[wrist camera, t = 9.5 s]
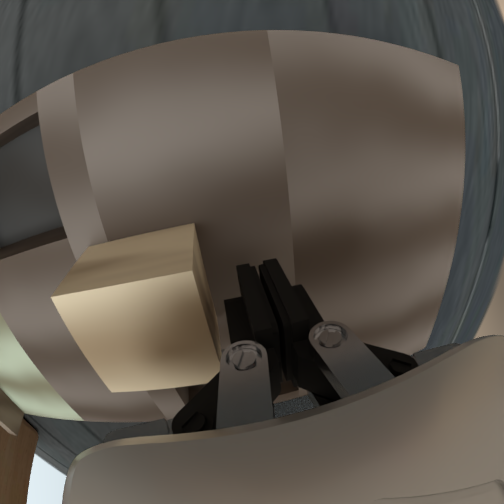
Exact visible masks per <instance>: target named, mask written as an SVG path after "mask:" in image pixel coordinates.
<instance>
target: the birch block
mask: <svg viewBox="0 0 504 504" xmlns="http://www.w3.org/2000/svg"><path fill="white" fill-rule="evenodd" d="M51 299H52V301H53V303H54V305H55V306H56V308H57V310H58V312H59V314H60V316H61V318H62V319H63V321H64V323H65V325H66V326H67V328H68V330H69V331H70V333H71V335H72V336H73V338H74V340H75V341H76V343H77V344H78V346H79V348H80V349H81V351H82V352H83V354H84V355H85V357H86V358H87V360H88V361H89V363H90V364H91V365H92V367H93V368H94V370H95V371H96V373H97V374H98V375H99V377H100V378H101V379H102V381H103V382H104V383H105V385H106V386H107V387H108V389H109V390H110V391H111V392H131V391H146V390H158V389H168V388H177V387H185V386H192V385H199V384H206V383H208V382H209V381H210V380H211V379H212V378H213V377H214V376H215V375H216V374H217V373H218V372H219V371H220V360H221V355H222V352H221V345H220V337H219V330H218V322H217V316H216V312H215V308H214V304H213V300H212V297H211V293H210V289H209V285H208V281H207V276H206V272H205V268H204V264H203V260H202V255H201V251H200V247H199V242H198V238H197V233H196V229H195V224H194V223H192V224H187V225H182V226H177V227H173V228H168V229H163V230H159V231H154V232H149V233H145V234H140V235H136V236H132V237H127V238H123V239H119V240H114V241H110V242H106V243H102V244H98V245H94V246H90V247H88V248H87V249H86V250H85V252H84V253H83V254H82V255H81V257H80V258H79V259H78V260H77V262H76V263H75V264H74V266H73V267H72V268H71V270H70V271H69V272H68V274H67V275H66V276H65V278H64V279H63V280H62V282H61V283H60V285H59V286H58V287H57V289H56V290H55V292H54V293H53V295H52V296H51Z"/></svg>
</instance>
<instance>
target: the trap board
mask: <svg viewBox="0 0 504 504" xmlns="http://www.w3.org/2000/svg"><path fill="white" fill-rule="evenodd" d="M464 172H465V120H464V105H463V95H462V86H461V79H460V72H459V66H458V65H456V64H453V63H451V62H448V61H446V60H443V59H440V58H438V57H435V56H432V55H429V54H426V53H423V52H420V51H416V50H413V49H410V48H406V47H402V46H399V45H395V44H391V43H386V42H382V41H377V40H372V39H367V38H362V37H356V36H349V35H342V34H334V33H325V32H313V31H296V30H257V31H239V32H227V33H218V34H210V35H203V36H196V37H190V38H184V39H179V40H174V41H169V42H165V43H161V44H156V45H152V46H148V47H145V48H141V49H138V50H134V51H131V52H127V53H124V54H121V55H118V56H115V57H112V58H109V59H107V60H104V61H101V62H98V63H96V64H93V65H91V66H88V67H86V68H83V69H81V70H79V71H77V72H74V73H72V74H70V75H68V76H66V77H63V78H61V79H59V80H57V81H55V82H53V83H51V84H49V85H47V86H46V87H44V88H42V89H40V90H38V91H36V92H35V93H33V94H31V95H29V96H28V97H26V98H24V99H23V100H21V101H20V102H18V103H16V104H15V105H13V106H12V107H10V108H9V109H7V110H6V111H4V112H3V113H1V114H0V426H1V427H3V428H4V429H5V430H6V431H7V432H8V433H9V434H13V435H16V436H18V432H19V429H20V426H21V422H22V419H23V416H24V413H25V414H31V415H37V416H43V417H50V418H58V419H67V420H79V421H94V422H150V421H155V420H159V419H162V418H165V420H169V419H173V418H174V416H175V415H176V414H177V413H178V412H179V411H180V410H181V409H182V408H183V407H184V406H185V405H186V404H187V403H188V402H189V401H190V400H191V399H192V398H193V397H194V396H195V395H196V394H197V393H198V392H199V391H200V390H201V389H202V388H203V387H204V386H205V385H206V384H207V383H206V384H199V385H192V386H185V387H177V388H168V389H158V390H146V391H131V392H111V391H110V390H109V389H108V387H107V386H106V385H105V383H104V382H103V381H102V379H101V378H100V377H99V375H98V374H97V373H96V371H95V370H94V368H93V367H92V365H91V364H90V363H89V361H88V360H87V358H86V357H85V355H84V354H83V352H82V351H81V349H80V348H79V346H78V344H77V343H76V341H75V340H74V338H73V336H72V335H71V333H70V331H69V330H68V328H67V326H66V325H65V323H64V321H63V319H62V318H61V316H60V314H59V312H58V310H57V308H56V306H55V305H54V303H53V301H52V299H51V296H52V295H53V293H54V292H55V290H56V289H57V287H58V286H59V285H60V283H61V282H62V280H63V279H64V278H65V276H66V275H67V274H68V272H69V271H70V270H71V268H72V267H73V266H74V264H75V263H76V262H77V260H78V259H79V258H80V257H81V255H82V254H83V253H84V252H85V250H86V249H87V248H88V247H90V246H94V245H98V244H102V243H106V242H110V241H114V240H119V239H123V238H127V237H132V236H136V235H140V234H145V233H149V232H154V231H159V230H163V229H168V228H173V227H177V226H182V225H187V224H192V223H194V224H195V229H196V233H197V238H198V242H199V247H200V251H201V255H202V260H203V264H204V268H205V272H206V276H207V281H208V285H209V289H210V293H211V297H212V300H213V304H214V308H215V312H216V316H217V322H218V330H219V337H220V345H221V352H222V353H223V351H224V350H225V349H226V348H227V347H228V346H229V345H231V342H230V336H229V330H228V324H227V318H226V312H225V305H224V300H226V299H231V298H236V297H241V293H240V287H239V281H238V275H237V270H236V266H237V265H242V264H248V263H249V264H250V266H255V267H256V270H257V272H258V275H259V265H261V264H263V260H268V259H273V258H276V259H277V260H278V262H279V264H280V266H281V267H282V269H283V271H284V273H285V275H286V277H287V278H288V280H289V282H290V284H291V286H294V285H299V284H301V285H302V286H303V287H304V288H305V290H306V292H307V293H308V295H309V297H310V298H311V300H312V302H313V303H314V305H315V307H316V308H317V310H318V312H319V313H320V315H321V317H322V318H323V320H324V321H337V322H340V323H343V324H345V325H346V326H347V327H349V328H350V329H351V330H352V332H353V333H354V334H355V335H356V336H357V337H358V338H359V339H360V340H361V341H362V342H363V343H366V344H370V345H374V346H378V347H381V348H385V349H389V350H393V351H397V352H401V353H405V354H407V355H411V354H413V353H415V352H417V351H419V350H421V349H423V348H425V347H426V344H427V342H428V339H429V337H430V334H431V331H432V329H433V326H434V323H435V320H436V317H437V314H438V311H439V308H440V305H441V301H442V298H443V295H444V291H445V288H446V284H447V280H448V276H449V272H450V268H451V264H452V260H453V255H454V250H455V245H456V240H457V234H458V228H459V222H460V215H461V207H462V198H463V187H464ZM259 278H260V275H259ZM282 380H283V382H282V383H281V393H280V394H279V395H278V397H277V398H276V399H275V401H274V402H273V403H278V402H282V401H286V400H290V399H294V398H297V397H301V396H305V395H308V394H307V390H305V389H302V388H299V387H298V386H297V387H294V386H293V384H292V381H291V380H290V381H286V379H285V376H284V373H283V370H282Z"/></svg>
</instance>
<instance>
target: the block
mask: <svg viewBox="0 0 504 504" xmlns="http://www.w3.org/2000/svg"><path fill="white" fill-rule="evenodd" d="M37 441H38V433H37V431H36V430H35V429H34V428H33V427H32V426H31V425H30V424H29V423H27V422H26V421H25V420H24V419H22V422H21V426H20V429H19V432H18V436H16V435H13V434H9V433H8V432H7V431H6V430H5V429H4V428H3V427H1V426H0V504H26V503H27V494H28V487H29V480H30V474H31V468H32V463H33V458H34V454H35V449H36V445H37Z"/></svg>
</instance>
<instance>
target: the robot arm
mask: <svg viewBox="0 0 504 504" xmlns="http://www.w3.org/2000/svg"><path fill="white" fill-rule="evenodd" d="M236 270H237V275H238V281H239V287H240V293H241V297H236V298H231V299H226V300H224V305H225V312H226V318H227V324H228V330H229V336H230V342H231V345H229V346H228V347H227V348H226V349H225V350H224V351H223V353H222V355H221V360H220V371H219V372H218V373H217V374H216V375H215V376H214V377H213V378H212V379H211V380H210V381H209V382H208V383H207V384H206V385H205V386H204V387H203V388H202V389H201V390H200V391H199V392H198V393H197V394H196V395H195V396H194V397H193V398H192V399H191V400H190V401H189V402H188V403H187V404H186V405H185V406H184V407H183V408H182V409H181V410H180V411H179V412H178V413H177V414H176V415H175V416H174V418H173V419H169V420H165V418H162V419H159V420H155V421H151V422H147V423H143V424H139V425H135V426H130V427H126V428H121V429H116V430H114V431H111V432H110V433H108V434H107V435H106V436H105V438H104V440H103V443H102V444H99V445H96V446H94V447H91V448H89V449H87V450H85V451H83V452H82V453H80V454H79V455H78V456H77V457H76V458H75V459H74V460H73V462H72V464H71V466H70V468H69V471H68V473H67V477H66V482H65V486H64V493H63V501H62V504H504V336H503V335H490V336H483V337H479V338H476V339H473V340H470V341H468V342H465V343H463V344H457V343H452V344H448V345H444V346H440V347H436V348H432V349H428V350H424V351H420V352H416V353H413V356H410V355H407V354H405V353H401V352H397V351H393V350H389V349H385V348H381V347H378V346H374V345H370V344H366V343H363V342H362V341H361V340H360V339H359V338H358V337H357V336H356V335H355V334H354V333H353V332H352V330H351V329H350V328H349V327H347V326H346V325H345V324H343V323H340V322H337V321H324V320H323V318H322V317H321V315H320V313H319V312H318V310H317V308H316V307H315V305H314V303H313V302H312V300H311V298H310V297H309V295H308V293H307V292H306V290H305V288H304V287H303V286H302V285H301V284H299V285H294V286H291V284H290V282H289V280H288V278H287V277H286V275H285V273H284V271H283V269H282V267H281V266H280V264H279V262H278V260H277V259H276V258H273V259H268V260H263V264H261V265H259V275H260V278H259V275H258V272H257V270H256V267H255V266H250V264H249V263H248V264H242V265H237V266H236ZM282 370H283V373H284V376H285V379H286V381H290V380H291V381H292V384H293V386H294V387H297V386H298V387H299V388H302V389H305V390H307V394H308V397H309V398H310V400H311V402H312V403H313V405H314V406H315V408H313V409H309V410H306V411H302V412H299V413H295V414H291V415H287V416H283V417H279V418H275V413H274V403H273V402H274V401H275V399H276V398H277V397H278V395H279V394H280V393H281V383H282V382H283V380H282Z"/></svg>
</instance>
